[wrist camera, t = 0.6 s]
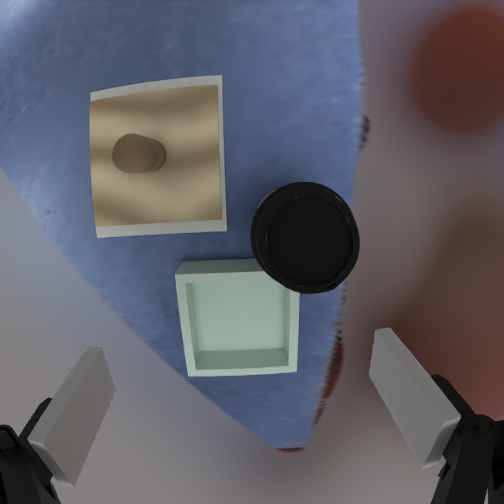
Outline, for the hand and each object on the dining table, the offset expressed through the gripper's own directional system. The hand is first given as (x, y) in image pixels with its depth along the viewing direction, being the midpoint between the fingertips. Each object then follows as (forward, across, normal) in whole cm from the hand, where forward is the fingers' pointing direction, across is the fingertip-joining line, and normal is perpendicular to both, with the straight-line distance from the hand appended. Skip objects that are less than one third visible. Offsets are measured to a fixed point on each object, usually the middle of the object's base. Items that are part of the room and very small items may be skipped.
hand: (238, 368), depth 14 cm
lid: (+24, -9, +11) cm, 28 cm away
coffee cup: (+24, +5, +3) cm, 25 cm away
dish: (+24, 0, -9) cm, 25 cm away
